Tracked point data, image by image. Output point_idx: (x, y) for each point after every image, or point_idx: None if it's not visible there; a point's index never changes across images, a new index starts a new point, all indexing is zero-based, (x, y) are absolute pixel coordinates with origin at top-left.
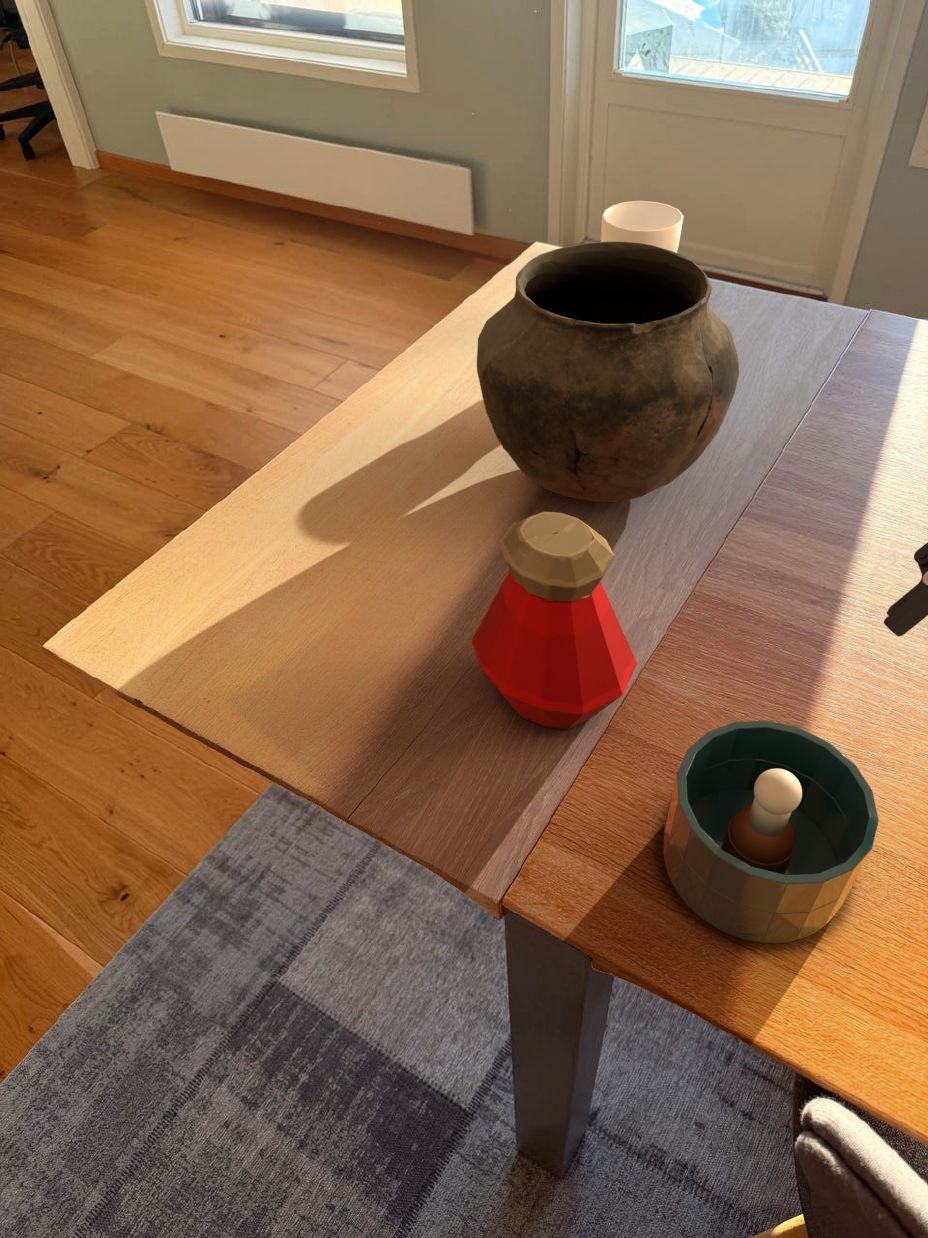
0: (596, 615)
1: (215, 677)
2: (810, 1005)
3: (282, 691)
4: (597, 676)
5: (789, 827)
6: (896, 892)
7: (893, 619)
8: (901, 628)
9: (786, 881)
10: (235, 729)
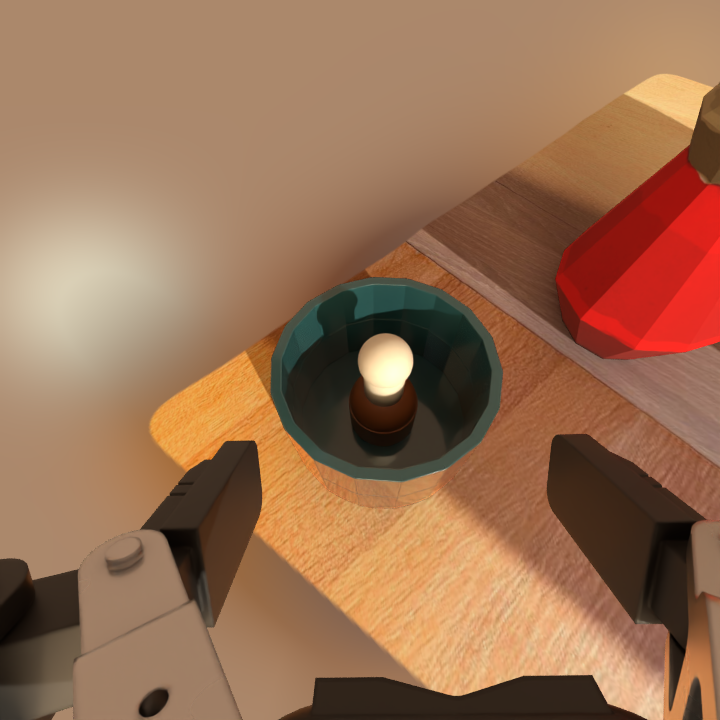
0: (676, 215)
1: (633, 130)
2: (245, 396)
3: (618, 158)
4: (595, 271)
5: (371, 410)
6: (301, 539)
7: (575, 439)
8: (558, 484)
9: (287, 326)
10: (579, 136)
